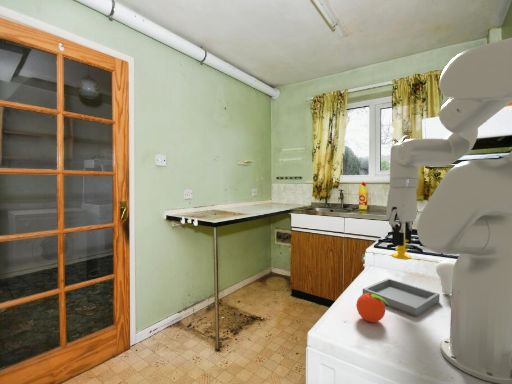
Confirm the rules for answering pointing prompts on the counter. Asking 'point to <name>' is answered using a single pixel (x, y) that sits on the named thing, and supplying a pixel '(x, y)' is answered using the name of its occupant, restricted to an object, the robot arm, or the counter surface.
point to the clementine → (371, 307)
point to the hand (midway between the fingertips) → (401, 243)
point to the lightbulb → (445, 275)
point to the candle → (402, 249)
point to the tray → (404, 296)
